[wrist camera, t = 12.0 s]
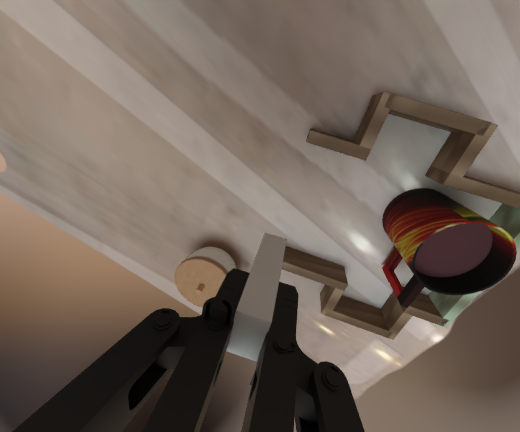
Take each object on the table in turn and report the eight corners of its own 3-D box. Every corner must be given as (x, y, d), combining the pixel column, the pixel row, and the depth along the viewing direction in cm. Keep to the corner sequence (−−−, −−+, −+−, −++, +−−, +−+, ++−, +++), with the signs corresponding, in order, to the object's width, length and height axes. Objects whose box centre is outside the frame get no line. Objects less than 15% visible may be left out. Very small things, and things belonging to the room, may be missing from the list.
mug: (379, 266, 40) (405, 320, 30) (383, 191, 35) (415, 223, 25) (443, 265, 38) (496, 324, 27) (456, 185, 33) (528, 217, 22)
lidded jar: (253, 262, 45) (241, 295, 37) (223, 290, 50) (205, 325, 41) (212, 227, 44) (189, 253, 36) (184, 258, 49) (158, 288, 40)
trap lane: (326, 81, 31) (329, 75, 27) (561, 150, 29) (606, 155, 25) (260, 272, 46) (255, 289, 42) (412, 327, 44) (424, 351, 39)
